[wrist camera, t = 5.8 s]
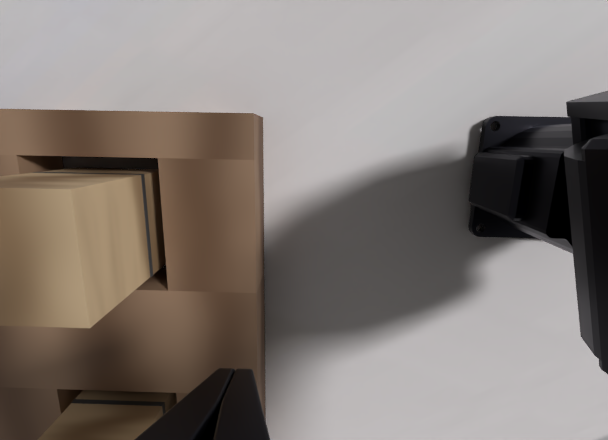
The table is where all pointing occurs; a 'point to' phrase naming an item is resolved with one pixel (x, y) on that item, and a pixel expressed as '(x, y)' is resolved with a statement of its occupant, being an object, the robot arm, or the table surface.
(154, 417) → the oak peg
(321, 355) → the table surface
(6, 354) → the walnut board
